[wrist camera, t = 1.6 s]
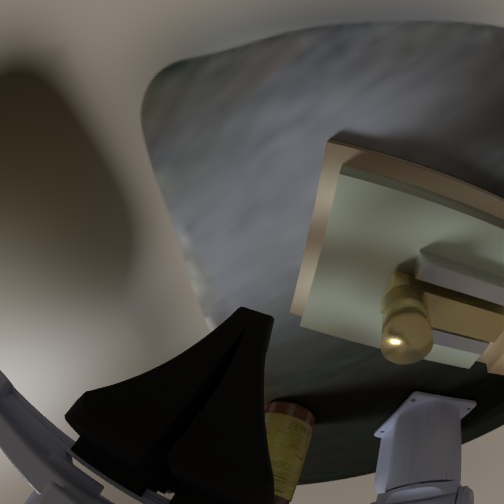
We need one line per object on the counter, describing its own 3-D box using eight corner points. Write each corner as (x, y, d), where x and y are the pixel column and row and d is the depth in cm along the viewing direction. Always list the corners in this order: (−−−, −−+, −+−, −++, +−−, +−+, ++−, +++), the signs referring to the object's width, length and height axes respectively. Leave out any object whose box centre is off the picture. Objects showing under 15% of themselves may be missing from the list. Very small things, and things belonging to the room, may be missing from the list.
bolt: (488, 331, 14) (502, 384, 10) (376, 300, 16) (373, 357, 12) (508, 301, 12) (528, 354, 9) (391, 265, 14) (394, 320, 11)
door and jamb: (543, 366, 16) (550, 390, 14) (293, 303, 22) (282, 331, 20) (610, 261, 9) (626, 282, 7) (328, 139, 15) (322, 148, 13)
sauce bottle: (259, 393, 30) (177, 555, 14) (316, 401, 27) (248, 581, 11) (267, 422, 33) (202, 560, 17) (318, 430, 30) (262, 579, 14)
